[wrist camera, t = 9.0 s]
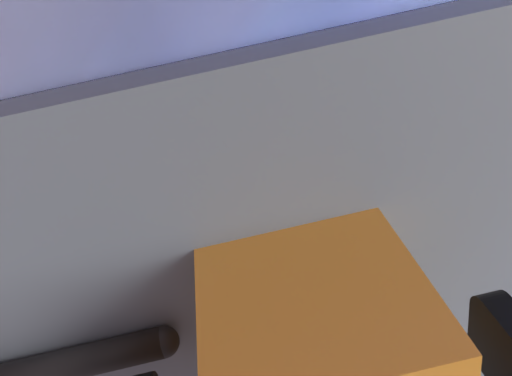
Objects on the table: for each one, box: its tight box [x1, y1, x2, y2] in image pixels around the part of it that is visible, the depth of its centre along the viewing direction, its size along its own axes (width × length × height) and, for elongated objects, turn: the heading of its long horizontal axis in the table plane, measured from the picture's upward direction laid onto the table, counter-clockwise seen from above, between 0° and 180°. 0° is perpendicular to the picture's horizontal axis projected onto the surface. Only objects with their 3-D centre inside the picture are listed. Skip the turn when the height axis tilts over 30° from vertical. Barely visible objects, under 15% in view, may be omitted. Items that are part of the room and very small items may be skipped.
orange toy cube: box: [194, 208, 482, 376], centre depth 11 cm, size 5×5×5 cm
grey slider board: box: [0, 0, 512, 376], centre depth 13 cm, size 18×14×5 cm
